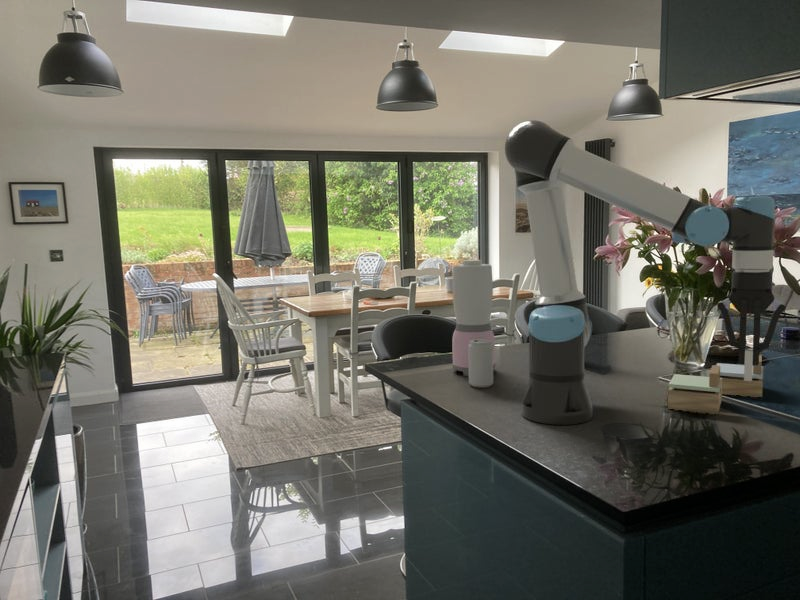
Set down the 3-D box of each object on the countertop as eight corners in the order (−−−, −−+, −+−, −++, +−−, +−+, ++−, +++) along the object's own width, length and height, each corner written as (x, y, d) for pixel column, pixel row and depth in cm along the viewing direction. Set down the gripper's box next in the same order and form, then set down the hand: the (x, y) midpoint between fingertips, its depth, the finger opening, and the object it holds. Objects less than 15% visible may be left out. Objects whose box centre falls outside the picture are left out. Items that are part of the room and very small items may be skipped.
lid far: (762, 379, 144) (763, 362, 144) (714, 374, 149) (714, 359, 149) (763, 369, 153) (763, 354, 152) (717, 366, 158) (717, 351, 157)
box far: (762, 400, 145) (762, 381, 144) (713, 395, 150) (714, 377, 149) (762, 389, 153) (763, 372, 153) (716, 385, 158) (717, 368, 158)
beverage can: (474, 381, 170) (474, 337, 168) (497, 383, 167) (496, 339, 165) (464, 386, 164) (464, 341, 163) (487, 389, 161) (487, 343, 160)
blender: (500, 375, 176) (499, 260, 172) (458, 377, 174) (456, 262, 171) (485, 363, 192) (483, 258, 188) (446, 365, 190) (443, 259, 186)
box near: (718, 414, 135) (719, 394, 134) (668, 409, 140) (668, 390, 139) (721, 403, 144) (721, 384, 143) (673, 398, 149) (674, 379, 148)
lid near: (719, 392, 134) (719, 374, 134) (668, 387, 139) (668, 370, 139) (722, 381, 143) (722, 365, 142) (674, 377, 148) (674, 361, 147)
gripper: (787, 269, 133) (783, 378, 136) (718, 268, 139) (715, 372, 142) (788, 272, 126) (783, 386, 129) (716, 271, 133) (713, 380, 136)
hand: (748, 379), depth 136 cm, fingers closed
